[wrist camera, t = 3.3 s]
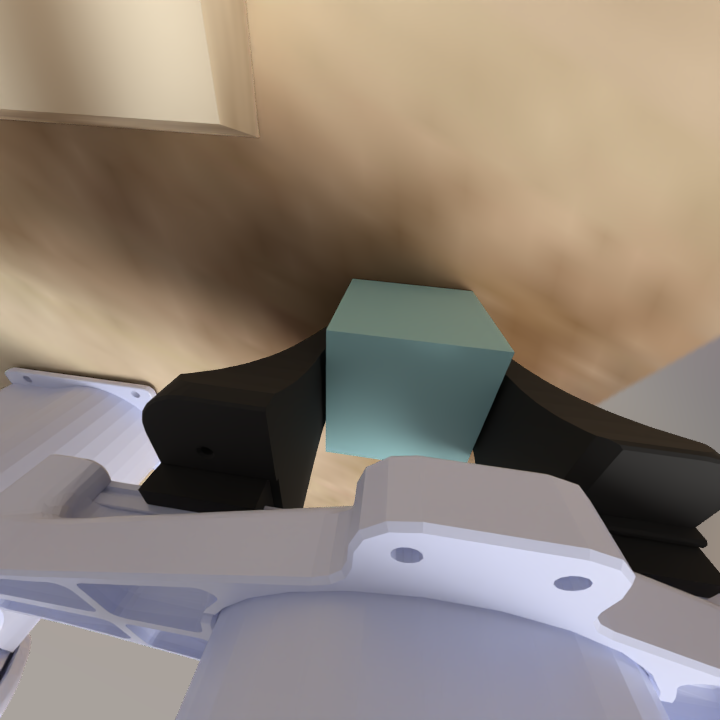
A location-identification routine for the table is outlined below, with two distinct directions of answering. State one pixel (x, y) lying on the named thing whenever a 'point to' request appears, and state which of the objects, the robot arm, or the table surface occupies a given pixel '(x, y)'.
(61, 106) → the birch base
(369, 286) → the teal block
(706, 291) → the table surface
